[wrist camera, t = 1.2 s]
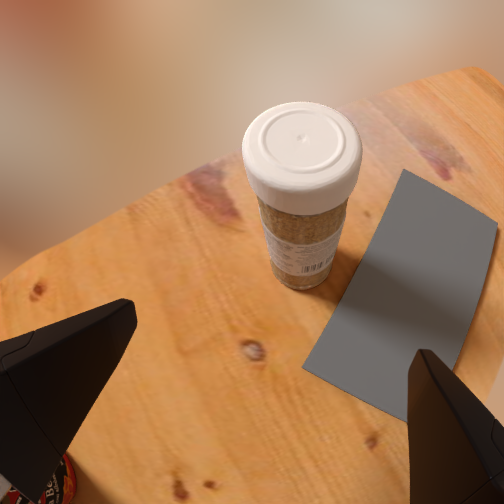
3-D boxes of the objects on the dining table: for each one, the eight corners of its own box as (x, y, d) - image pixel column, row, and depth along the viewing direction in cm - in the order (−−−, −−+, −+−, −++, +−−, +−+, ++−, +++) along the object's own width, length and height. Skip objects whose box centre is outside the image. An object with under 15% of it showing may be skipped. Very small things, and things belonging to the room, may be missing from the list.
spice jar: (322, 227, 24) (338, 89, 12) (339, 283, 23) (384, 175, 10) (263, 241, 24) (230, 110, 12) (277, 299, 23) (253, 203, 10)
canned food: (74, 519, 17) (-9, 552, 7) (16, 474, 19) (-66, 483, 9) (85, 458, 20) (-13, 478, 9) (24, 413, 21) (-68, 409, 11)
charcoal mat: (419, 428, 18) (422, 429, 17) (301, 367, 21) (301, 367, 20) (494, 226, 22) (497, 223, 22) (401, 172, 25) (403, 168, 25)
